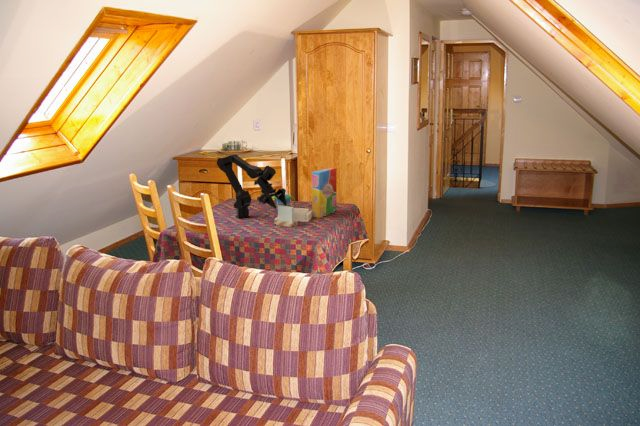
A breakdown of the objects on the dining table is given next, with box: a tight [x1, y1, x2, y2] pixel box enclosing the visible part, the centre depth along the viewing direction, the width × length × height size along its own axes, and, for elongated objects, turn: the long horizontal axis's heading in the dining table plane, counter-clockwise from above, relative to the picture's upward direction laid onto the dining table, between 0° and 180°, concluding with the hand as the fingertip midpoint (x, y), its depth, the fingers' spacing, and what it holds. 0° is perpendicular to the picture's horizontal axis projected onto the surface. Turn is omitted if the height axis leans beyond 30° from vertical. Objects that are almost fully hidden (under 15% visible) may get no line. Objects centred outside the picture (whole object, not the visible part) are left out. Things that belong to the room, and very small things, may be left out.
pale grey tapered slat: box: [277, 205, 295, 225], centre depth 322 cm, size 10×2×10 cm, turn 55°
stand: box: [273, 220, 299, 228], centre depth 323 cm, size 12×6×2 cm, turn 55°
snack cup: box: [270, 193, 296, 213], centre depth 354 cm, size 16×10×10 cm
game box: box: [311, 167, 338, 219], centre depth 344 cm, size 21×6×27 cm, turn 149°
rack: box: [274, 207, 313, 223], centre depth 336 cm, size 20×12×5 cm, turn 80°
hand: (280, 206), depth 323 cm, fingers open, 9 cm apart
